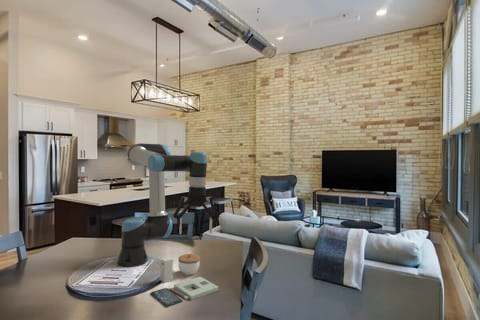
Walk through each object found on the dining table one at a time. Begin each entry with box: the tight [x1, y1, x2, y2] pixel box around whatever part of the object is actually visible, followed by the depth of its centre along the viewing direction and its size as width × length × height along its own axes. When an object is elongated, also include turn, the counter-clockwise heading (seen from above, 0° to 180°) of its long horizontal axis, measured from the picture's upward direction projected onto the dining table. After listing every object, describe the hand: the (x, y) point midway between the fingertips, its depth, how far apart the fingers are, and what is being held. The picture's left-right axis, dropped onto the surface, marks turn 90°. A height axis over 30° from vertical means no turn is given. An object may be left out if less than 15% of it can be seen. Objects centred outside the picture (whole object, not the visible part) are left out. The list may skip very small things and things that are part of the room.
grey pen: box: [166, 286, 190, 300], centre depth 124 cm, size 13×1×1 cm, turn 50°
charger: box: [159, 256, 174, 284], centre depth 137 cm, size 4×4×10 cm
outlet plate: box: [173, 276, 219, 301], centre depth 129 cm, size 14×14×2 cm
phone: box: [150, 287, 183, 308], centre depth 120 cm, size 14×7×1 cm, turn 42°
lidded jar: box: [177, 253, 201, 276], centre depth 146 cm, size 11×11×9 cm
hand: (195, 233), depth 133 cm, fingers open, 13 cm apart
